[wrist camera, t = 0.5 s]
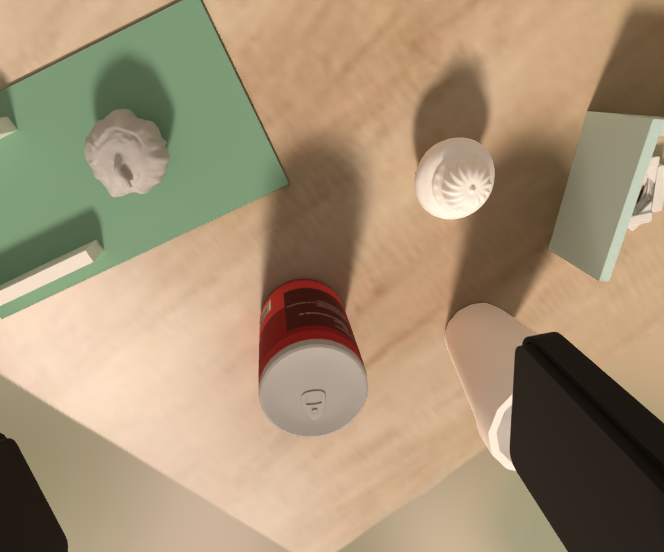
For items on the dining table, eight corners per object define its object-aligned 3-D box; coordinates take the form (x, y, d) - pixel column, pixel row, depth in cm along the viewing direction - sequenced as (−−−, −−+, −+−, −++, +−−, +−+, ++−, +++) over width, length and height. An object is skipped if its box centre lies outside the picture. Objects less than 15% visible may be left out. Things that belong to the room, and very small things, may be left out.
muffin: (488, 172, 38) (533, 191, 32) (431, 221, 39) (463, 250, 33) (446, 114, 36) (485, 123, 29) (387, 168, 37) (412, 188, 31)
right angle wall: (545, 247, 42) (599, 281, 36) (583, 110, 38) (653, 118, 31) (659, 250, 44) (731, 282, 37) (709, 120, 39) (801, 129, 33)
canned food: (278, 364, 43) (282, 452, 33) (245, 293, 40) (239, 367, 30) (355, 337, 43) (382, 417, 33) (328, 264, 40) (350, 328, 30)
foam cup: (525, 355, 47) (613, 451, 35) (438, 383, 47) (497, 488, 35) (515, 274, 43) (611, 352, 31) (421, 305, 43) (481, 394, 31)
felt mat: (197, -7, 30) (196, -7, 30) (289, 183, 36) (289, 184, 36) (-138, 160, 32) (-141, 161, 32) (3, 317, 38) (2, 319, 37)
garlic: (172, 195, 35) (158, 215, 31) (97, 183, 34) (70, 201, 29) (178, 115, 33) (164, 122, 28) (97, 99, 32) (69, 104, 27)
